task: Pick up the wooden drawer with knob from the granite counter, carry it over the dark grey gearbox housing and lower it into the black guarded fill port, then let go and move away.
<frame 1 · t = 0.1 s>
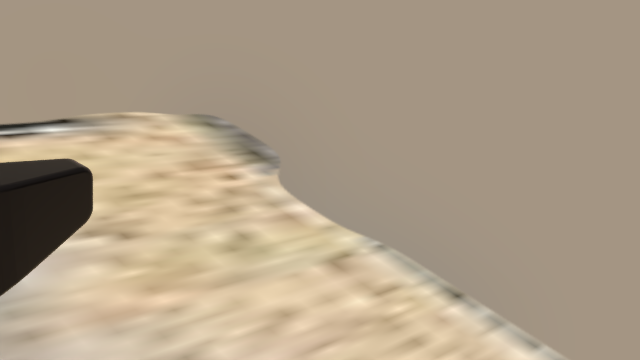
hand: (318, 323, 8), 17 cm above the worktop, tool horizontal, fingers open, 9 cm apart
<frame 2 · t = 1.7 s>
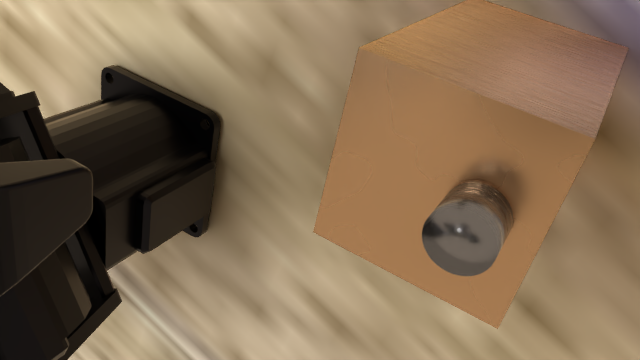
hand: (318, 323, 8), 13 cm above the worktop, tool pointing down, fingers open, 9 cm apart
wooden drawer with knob: (518, 93, 18), on the worktop
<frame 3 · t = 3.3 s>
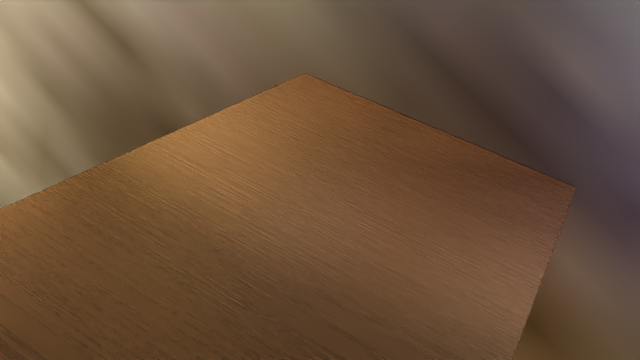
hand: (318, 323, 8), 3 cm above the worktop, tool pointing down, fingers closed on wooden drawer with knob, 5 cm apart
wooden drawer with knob: (389, 240, 10), on the worktop, touching gripper
when the fingers open (6 cm above the worktop, at t = 8.5 s): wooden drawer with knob drops 3 cm, resting on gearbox.
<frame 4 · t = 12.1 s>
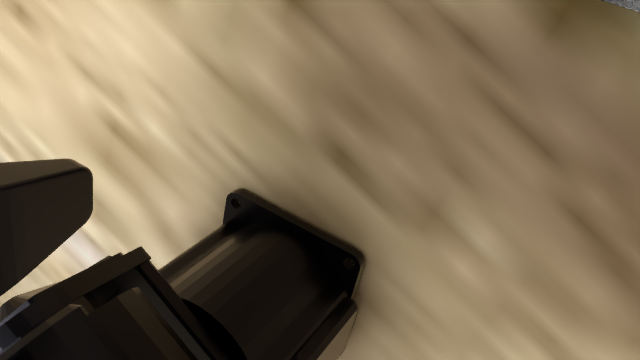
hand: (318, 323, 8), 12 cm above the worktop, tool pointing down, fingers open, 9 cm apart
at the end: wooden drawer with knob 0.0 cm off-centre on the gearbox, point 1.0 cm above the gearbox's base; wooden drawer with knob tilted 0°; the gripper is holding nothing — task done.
